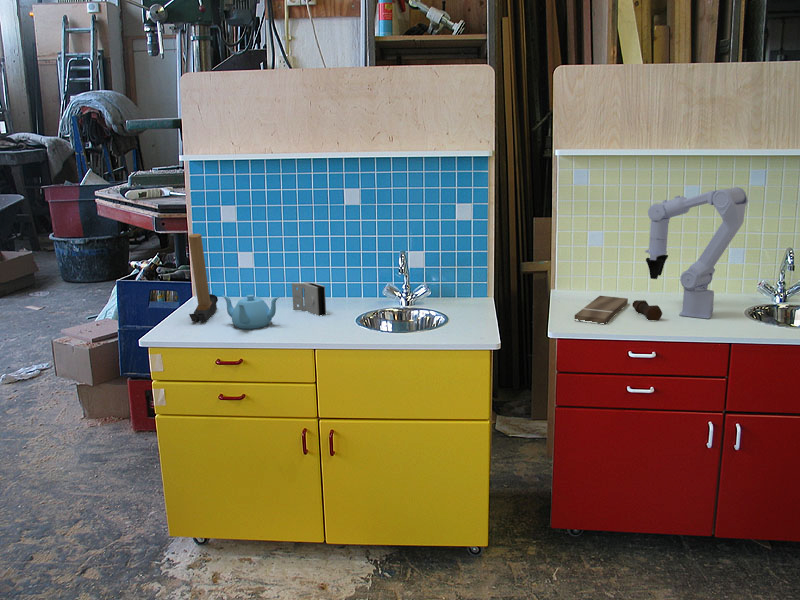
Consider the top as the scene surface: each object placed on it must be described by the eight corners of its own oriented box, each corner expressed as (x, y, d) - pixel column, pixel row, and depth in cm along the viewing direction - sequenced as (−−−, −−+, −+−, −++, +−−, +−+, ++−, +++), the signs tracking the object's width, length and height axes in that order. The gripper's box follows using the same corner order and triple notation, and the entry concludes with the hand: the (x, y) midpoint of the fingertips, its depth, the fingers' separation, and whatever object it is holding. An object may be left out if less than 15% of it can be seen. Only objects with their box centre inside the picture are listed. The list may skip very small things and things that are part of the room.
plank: (627, 303, 267) (627, 298, 267) (604, 324, 242) (605, 318, 242) (599, 300, 272) (599, 295, 272) (574, 321, 247) (574, 314, 247)
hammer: (206, 329, 253) (194, 246, 241) (191, 329, 253) (179, 246, 241) (219, 304, 272) (209, 225, 259) (205, 304, 272) (194, 225, 259)
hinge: (292, 310, 267) (291, 283, 265) (303, 307, 271) (302, 280, 269) (320, 316, 259) (319, 287, 256) (331, 313, 263) (330, 285, 261)
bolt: (638, 314, 260) (656, 325, 246) (626, 308, 260) (643, 318, 245) (646, 300, 260) (665, 309, 245) (634, 293, 259) (652, 302, 244)
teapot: (264, 317, 260) (262, 288, 257) (283, 326, 248) (281, 296, 245) (223, 324, 252) (221, 294, 249) (241, 334, 240) (239, 303, 237)
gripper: (651, 234, 266) (648, 271, 269) (641, 240, 254) (639, 279, 257) (671, 235, 263) (669, 273, 266) (663, 242, 251) (660, 282, 254)
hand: (655, 277), depth 261 cm, fingers open, 6 cm apart
